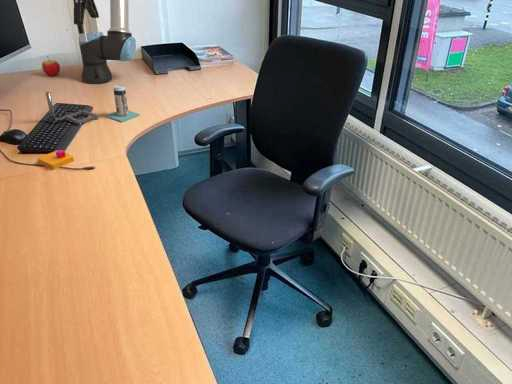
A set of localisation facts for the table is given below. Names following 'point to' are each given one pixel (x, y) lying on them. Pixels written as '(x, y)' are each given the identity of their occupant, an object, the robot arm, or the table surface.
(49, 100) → the square frame with rod
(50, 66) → the apple
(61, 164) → the orange flat block
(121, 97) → the beer can
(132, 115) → the coaster
